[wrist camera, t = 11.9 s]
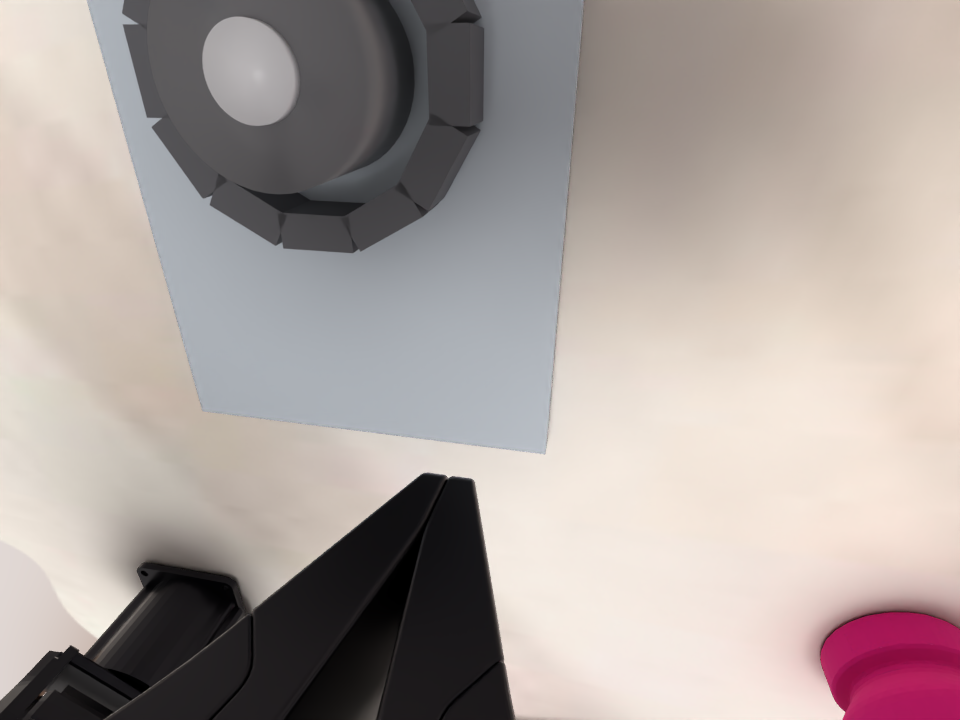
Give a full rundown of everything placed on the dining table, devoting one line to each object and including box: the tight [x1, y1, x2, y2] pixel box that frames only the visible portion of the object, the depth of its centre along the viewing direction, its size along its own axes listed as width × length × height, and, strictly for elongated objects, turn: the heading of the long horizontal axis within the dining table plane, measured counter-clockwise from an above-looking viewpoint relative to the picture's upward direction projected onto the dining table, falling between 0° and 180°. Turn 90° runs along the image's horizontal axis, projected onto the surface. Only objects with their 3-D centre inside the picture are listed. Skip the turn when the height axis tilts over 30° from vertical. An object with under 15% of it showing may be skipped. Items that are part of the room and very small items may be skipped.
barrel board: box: [87, 0, 584, 454], centre depth 19 cm, size 16×20×3 cm
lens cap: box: [147, 0, 415, 194], centre depth 15 cm, size 6×6×4 cm
